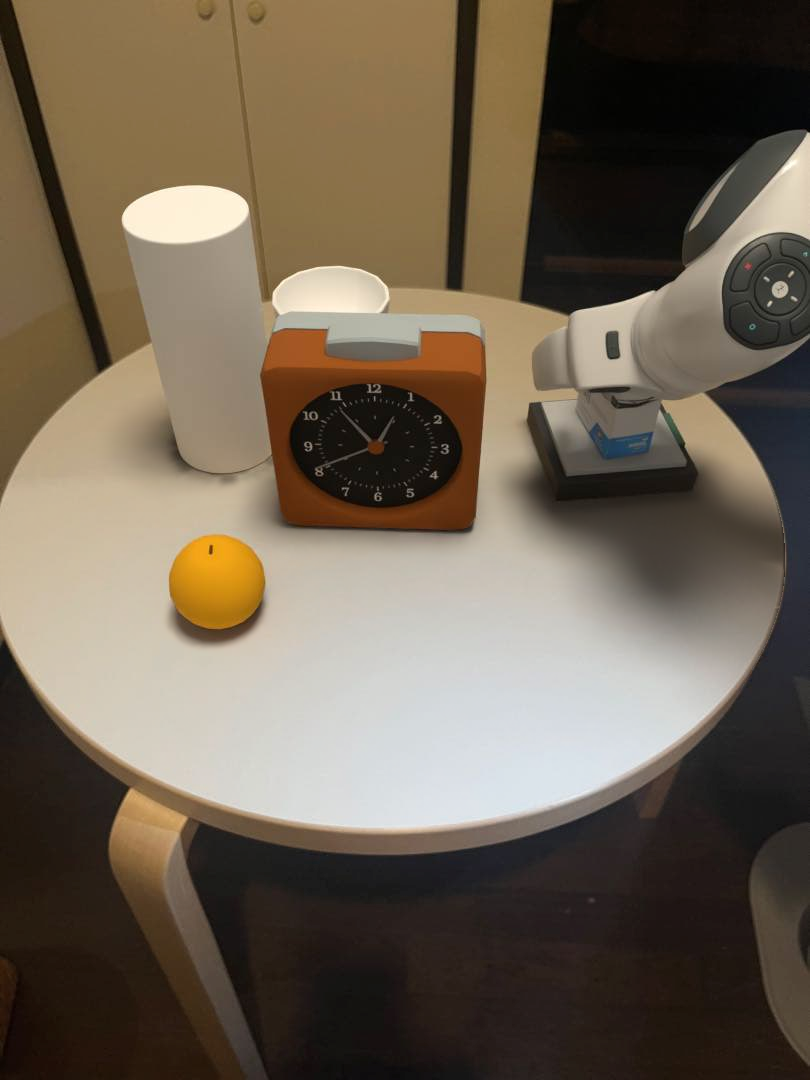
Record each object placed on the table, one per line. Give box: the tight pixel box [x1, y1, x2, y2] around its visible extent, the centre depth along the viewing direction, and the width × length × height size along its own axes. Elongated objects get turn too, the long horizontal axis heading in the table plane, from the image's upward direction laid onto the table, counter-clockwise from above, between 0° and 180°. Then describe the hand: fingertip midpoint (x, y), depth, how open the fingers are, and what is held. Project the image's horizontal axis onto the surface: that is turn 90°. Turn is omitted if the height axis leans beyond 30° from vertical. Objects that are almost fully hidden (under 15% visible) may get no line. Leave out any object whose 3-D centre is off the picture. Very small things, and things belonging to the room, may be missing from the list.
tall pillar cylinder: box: [121, 184, 272, 474], centre depth 82 cm, size 11×11×25 cm
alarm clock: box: [260, 311, 487, 531], centre depth 77 cm, size 18×9×21 cm, turn 87°
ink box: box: [576, 392, 663, 459], centre depth 83 cm, size 8×5×12 cm, turn 12°
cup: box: [271, 265, 391, 320], centre depth 94 cm, size 12×12×11 cm
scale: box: [526, 398, 699, 503], centre depth 88 cm, size 14×13×3 cm
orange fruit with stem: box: [168, 533, 266, 630], centre depth 73 cm, size 8×8×8 cm
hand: (621, 373), depth 83 cm, fingers open, 8 cm apart
